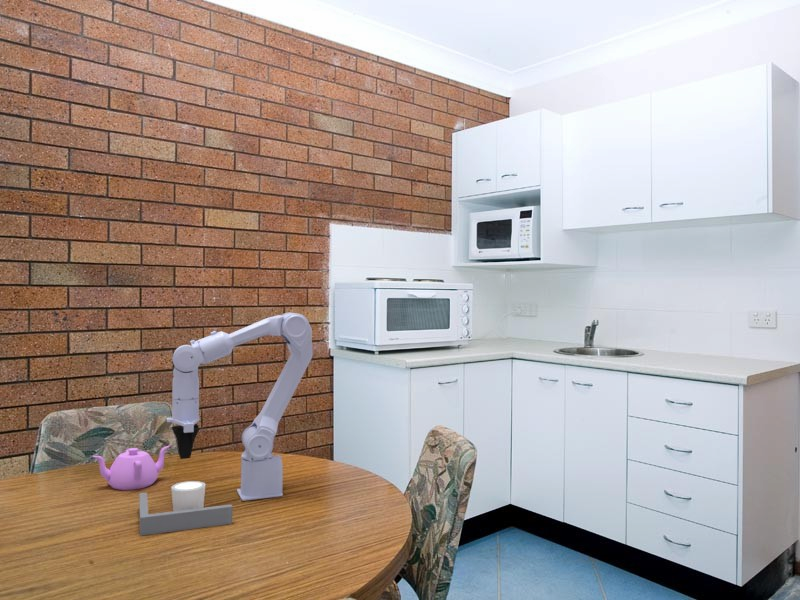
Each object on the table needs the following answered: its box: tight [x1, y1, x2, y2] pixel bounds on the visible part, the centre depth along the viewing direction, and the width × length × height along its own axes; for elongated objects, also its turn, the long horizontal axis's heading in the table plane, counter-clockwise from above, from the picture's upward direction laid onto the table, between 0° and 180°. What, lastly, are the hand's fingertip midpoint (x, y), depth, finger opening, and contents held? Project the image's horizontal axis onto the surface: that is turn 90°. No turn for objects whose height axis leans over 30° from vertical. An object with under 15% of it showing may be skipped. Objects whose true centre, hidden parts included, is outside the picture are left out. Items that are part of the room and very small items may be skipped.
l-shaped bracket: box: [138, 492, 234, 537], centre depth 130 cm, size 18×16×4 cm
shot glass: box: [170, 480, 206, 511], centre depth 128 cm, size 7×7×7 cm
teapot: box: [92, 444, 171, 491], centre depth 151 cm, size 12×14×9 cm
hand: (185, 457), depth 139 cm, fingers closed
